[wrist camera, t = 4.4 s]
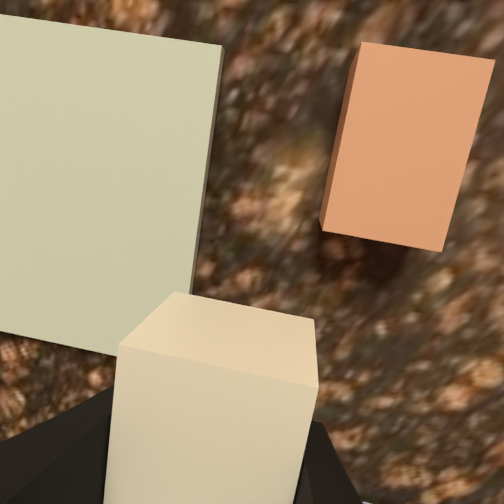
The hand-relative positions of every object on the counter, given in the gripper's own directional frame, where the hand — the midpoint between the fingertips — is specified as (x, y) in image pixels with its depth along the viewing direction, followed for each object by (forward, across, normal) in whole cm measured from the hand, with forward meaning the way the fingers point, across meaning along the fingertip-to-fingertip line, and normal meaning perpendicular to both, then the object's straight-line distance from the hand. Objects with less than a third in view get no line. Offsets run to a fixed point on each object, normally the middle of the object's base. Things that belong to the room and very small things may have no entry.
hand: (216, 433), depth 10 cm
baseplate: (+8, +9, -4) cm, 13 cm away
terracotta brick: (+8, -4, -8) cm, 12 cm away
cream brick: (+2, 0, 0) cm, 2 cm away
